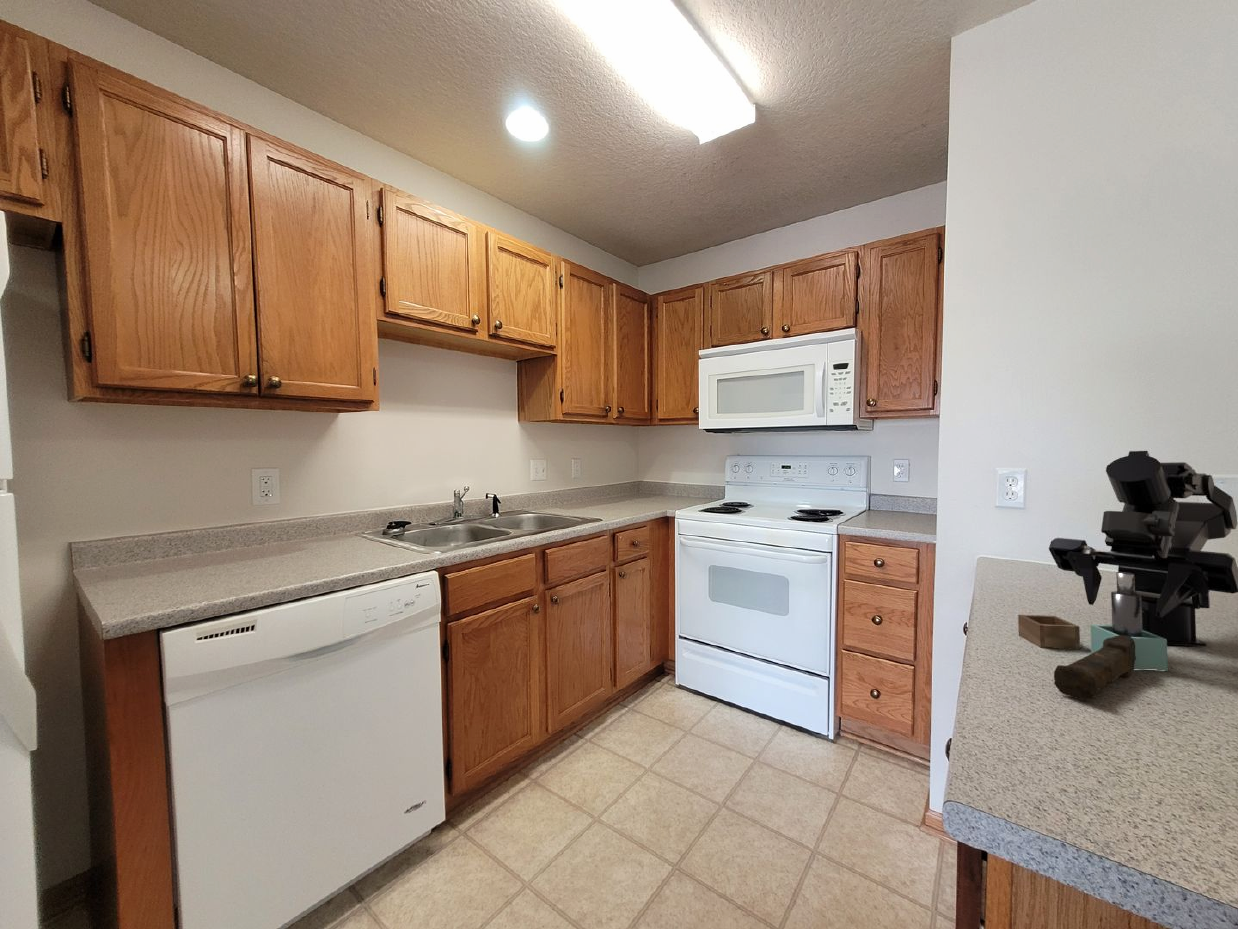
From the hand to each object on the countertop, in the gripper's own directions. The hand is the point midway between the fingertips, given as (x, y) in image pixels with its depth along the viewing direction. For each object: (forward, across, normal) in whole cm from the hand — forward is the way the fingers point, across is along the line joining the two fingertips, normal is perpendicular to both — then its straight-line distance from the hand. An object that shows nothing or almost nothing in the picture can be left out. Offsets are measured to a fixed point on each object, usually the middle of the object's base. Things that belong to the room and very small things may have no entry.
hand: (1122, 609), depth 68 cm
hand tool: (+12, 0, -1) cm, 12 cm away
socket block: (+4, -9, +7) cm, 12 cm away
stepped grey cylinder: (+5, 0, +7) cm, 8 cm away
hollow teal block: (+5, 0, +7) cm, 8 cm away
